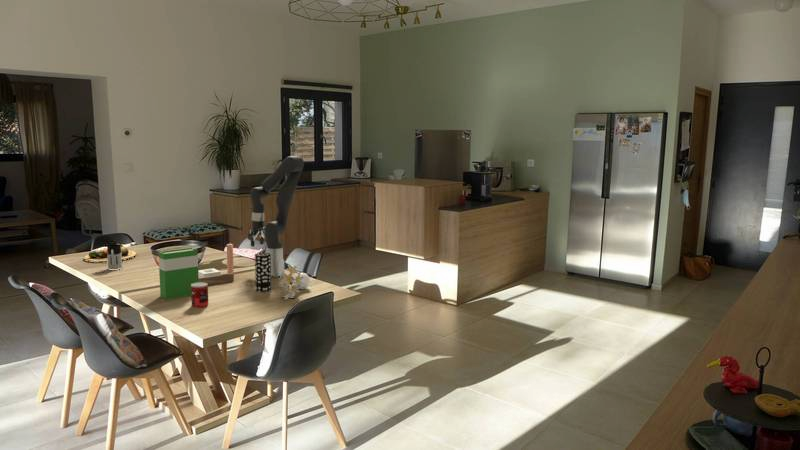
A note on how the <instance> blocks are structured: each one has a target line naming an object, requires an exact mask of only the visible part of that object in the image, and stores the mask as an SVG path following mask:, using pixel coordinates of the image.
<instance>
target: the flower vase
mask: <svg viewBox="0 0 800 450" xmlns="http://www.w3.org/2000/svg"><path fill="white" fill-rule="evenodd" d="M287 267H288V268H285V270H286V271H287V272H289V273H288V274H287V273H284V271H285V270H284V271H282V274H281V276H280V277H278V283H279V284H280V287H282V288H285V290H286V292H287V294H285V295H283V296H282V297H283V298H284V300H288V299H289V298H290V299H291V298H295V297H294V296H295V295H294V293H300V290H305V289H307V288H308V287H309V285H310V283H311V279H310V276H309V275H308V274H307V273H305V272H300V270H298V266H297V265H293V266H292V265H291V264H288V263H287ZM295 274H296V275H295ZM293 275H295V276H293ZM290 286H291V287H290Z"/></svg>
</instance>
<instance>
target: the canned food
mask: <svg viewBox="0 0 800 450" xmlns="http://www.w3.org/2000/svg"><path fill="white" fill-rule="evenodd" d="M208 286H209V285H208V284H207V283H204V282H198V283H193V284H191V295H190V297H191V306H192V308H195V309H196V308H197V309H198V308H206V307H208V305H209V287H208Z"/></svg>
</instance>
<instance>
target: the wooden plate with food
mask: <svg viewBox="0 0 800 450" xmlns="http://www.w3.org/2000/svg"><path fill="white" fill-rule="evenodd" d="M107 253H108V250H107V247H105V248H102V249H101V250H98V251H96V249H95V250H91V251H89V253H88V254H86V255H85V256H84V257H83V260H84V259H85V260H88V261H99V262H107V261H108V255H107ZM121 253H122V260H124V259H128V258H132V257H134V256H137V253H136V251H133V250H129V249H128V248H127V247H126V246H121ZM89 257H90V258H89ZM134 258H135V257H134ZM132 259H133V258H132ZM85 260H84V261H85Z"/></svg>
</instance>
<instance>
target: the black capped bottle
mask: <svg viewBox="0 0 800 450" xmlns="http://www.w3.org/2000/svg"><path fill="white" fill-rule="evenodd" d="M106 248H107V250H108V253H107V255H108V263H107V269H108V268H109V269H118V268H122V267H123V261H122V253H121V248H122V246H121V244H120V243H115V244H113V243H112V244H108V245H107V246H106Z"/></svg>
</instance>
